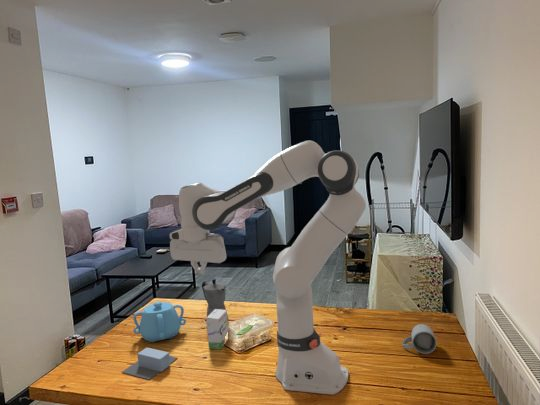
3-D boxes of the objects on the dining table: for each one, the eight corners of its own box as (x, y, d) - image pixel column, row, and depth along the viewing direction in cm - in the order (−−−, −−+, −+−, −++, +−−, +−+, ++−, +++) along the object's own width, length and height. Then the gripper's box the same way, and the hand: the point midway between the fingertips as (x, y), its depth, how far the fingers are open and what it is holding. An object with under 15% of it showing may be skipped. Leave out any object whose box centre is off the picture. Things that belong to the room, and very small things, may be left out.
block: (169, 352, 138) (146, 347, 142) (160, 359, 134) (137, 353, 138) (170, 364, 138) (148, 359, 143) (161, 371, 134) (138, 366, 139)
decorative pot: (163, 323, 173) (159, 292, 171) (190, 330, 164) (187, 298, 162) (131, 340, 160) (126, 306, 158) (159, 349, 151) (155, 313, 149)
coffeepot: (236, 320, 170) (232, 279, 168) (218, 329, 164) (214, 285, 161) (213, 311, 181) (210, 272, 179) (196, 319, 175) (192, 278, 172)
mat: (177, 358, 143) (177, 357, 143) (149, 380, 131) (149, 379, 131) (151, 352, 148) (151, 351, 148) (121, 372, 136) (121, 371, 136)
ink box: (221, 350, 147) (218, 318, 145) (208, 348, 148) (205, 318, 147) (229, 338, 155) (227, 309, 153) (217, 337, 156) (215, 308, 155)
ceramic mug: (433, 342, 142) (432, 321, 141) (437, 354, 134) (436, 332, 133) (401, 341, 145) (400, 321, 144) (403, 353, 137) (402, 331, 136)
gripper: (228, 231, 132) (231, 273, 134) (177, 229, 141) (181, 268, 143) (217, 236, 127) (221, 279, 129) (165, 234, 136) (169, 274, 138)
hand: (200, 273), depth 136 cm, fingers closed
